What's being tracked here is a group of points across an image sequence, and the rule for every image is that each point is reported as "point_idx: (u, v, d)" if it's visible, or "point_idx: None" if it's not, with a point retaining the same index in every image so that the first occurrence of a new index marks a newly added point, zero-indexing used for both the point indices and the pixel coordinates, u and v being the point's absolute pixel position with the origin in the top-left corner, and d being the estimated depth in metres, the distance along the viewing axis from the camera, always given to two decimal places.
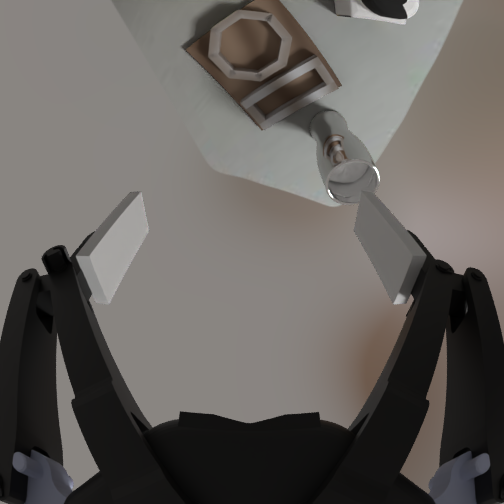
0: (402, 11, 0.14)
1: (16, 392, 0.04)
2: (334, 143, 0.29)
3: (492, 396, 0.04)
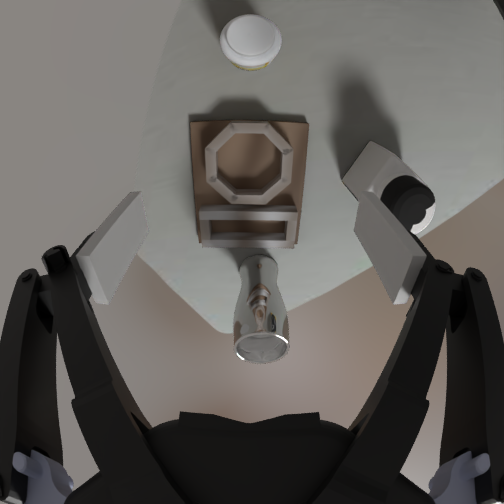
0: None
1: (16, 392, 0.04)
2: (263, 305, 0.32)
3: (492, 396, 0.04)
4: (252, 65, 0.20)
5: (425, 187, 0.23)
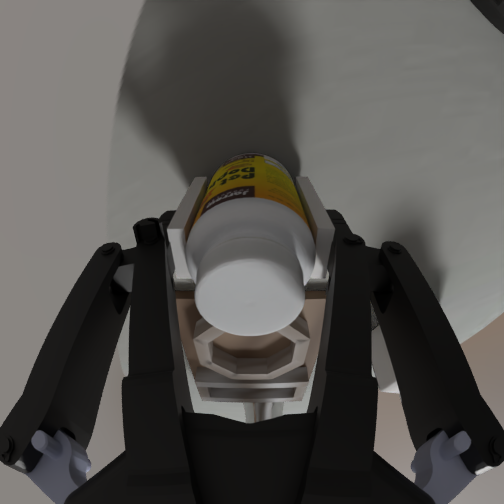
0: None
1: None
2: None
3: (449, 373, 0.05)
4: None
5: None
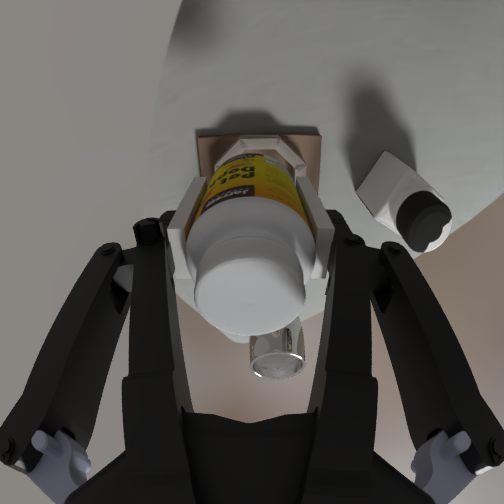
0: (424, 248, 0.24)
1: None
2: None
3: (449, 373, 0.05)
4: None
5: (442, 204, 0.21)
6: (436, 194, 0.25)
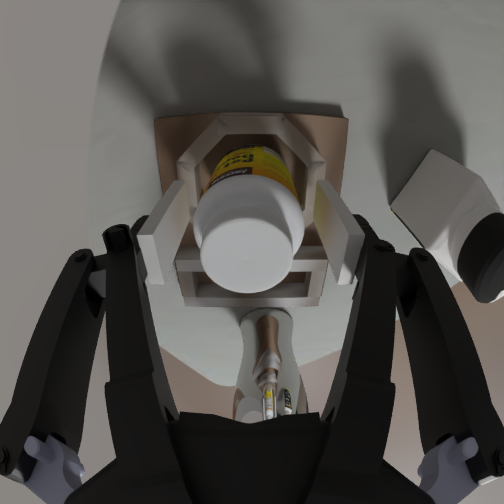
0: (493, 298, 0.13)
1: (45, 376, 0.05)
2: (274, 398, 0.20)
3: (464, 379, 0.05)
4: None
5: None
6: None
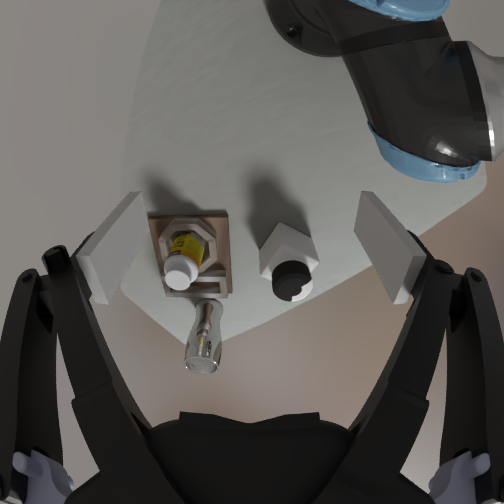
0: (289, 299, 0.40)
1: (16, 392, 0.04)
2: (202, 338, 0.47)
3: (492, 396, 0.04)
4: None
5: (299, 272, 0.38)
6: (310, 258, 0.42)
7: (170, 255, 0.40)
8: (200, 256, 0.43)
